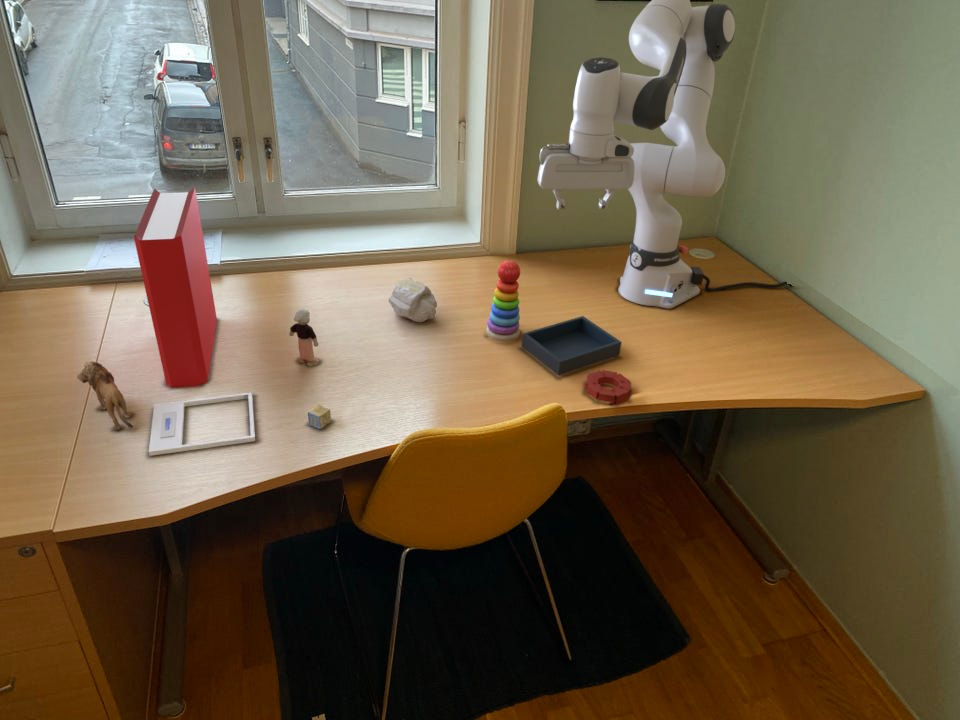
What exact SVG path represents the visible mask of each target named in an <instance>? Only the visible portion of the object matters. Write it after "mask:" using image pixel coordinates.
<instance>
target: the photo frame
mask: <svg viewBox="0 0 960 720" xmlns="http://www.w3.org/2000/svg"><path fill="white" fill-rule="evenodd" d="M247 399H248V412H249V431H250V432H249V433H250V435H244V436H237V437H229V438H222V439H216V440H208V441H201V442H194V443H187V444H183V437H184V420H185V407H190V406H191V407H192V406H199V405H200V406H201V405H206V404H215V403H222V402H231V401H239V400H247ZM253 402H254V401H253V392H252V391H251V392H243V393H236V394H228V395H226V394H225V395H219V396H211V397H203V398H202V397H201V398H194V399H188V400H187V399H186V400H179V401H178V400H177V401H171V402H162V403H154V404H153V411H152V420H151V427H150V428H151V429H150V438H149V445H148V456H149V457H151V456H159V455H166V454H172V453H179V452H187V451H194V450H200V449H208V448H216V447H222V446H223V447H224V446H230V445H237V444H244V443H245V444H246V443H252V442H256V432H255V431H256V430H255V417H254V416H255V415H254V403H253Z"/></svg>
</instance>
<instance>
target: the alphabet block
mask: <svg viewBox="0 0 960 720" xmlns="http://www.w3.org/2000/svg"><path fill="white" fill-rule="evenodd" d="M307 421H308V425H309V426H311V427H314V428H316V429H318V430H321V429H323V428H325V427H326V426H327V425H328V424H330V423H332V414H331V409H330V408H328V407H326V406H323V405H320V404H317V405H316V406H315V407H312V408H311V409H310V410H308V411H307Z"/></svg>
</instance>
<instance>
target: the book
mask: <svg viewBox="0 0 960 720" xmlns="http://www.w3.org/2000/svg"><path fill="white" fill-rule="evenodd" d="M145 207H146V208H145V210H144V211H143V214H142V216H141V219H140V221H139V224H138V226H137V229H136V230H135V233H134V235H133V240H134V244H135V245H134V246H135V249H136V254H137V258H138V262H139V267H140V273H141V277H142V281H143V285H144V290H145V294H146V298H147V303H148V308H149V312H150V317H151V321H152V326H153V331H154V334H155V339H156V344H157V349H158V355H159V357H160V362H161V366H162V367H161V368H162V371H163V376H164V380H165V381H164V382H165V385H166V386H167V387H169V388H171V389H176V388H189V387H201V386H202V385H204V384H206V383H207V382H209V378H210V371H211V370H210V369H211V364H212V358H213V357H212V356H213V351H214V342H215V337H216V336H215V335H216V330H217V329H216V328H217V324H218V318H217V311H216V306H215V299H214V293H213V287H212V280H211V276H210V275H211V274H210V268H209V264H208V258H207V257H208V256H207V251H206V245H205V240H204V233H203V227H202V221H201V215H200V209H199V202H198V196H197V191H196V187H193V188H192V189H191V190H189V191H188V192H187V191H185V192H160V191H159V190H157V189H156V188H153V191H152V193H151V196H150V197H149V200H148V202H147V205H146V206H145Z"/></svg>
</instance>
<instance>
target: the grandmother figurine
mask: <svg viewBox="0 0 960 720" xmlns="http://www.w3.org/2000/svg"><path fill="white" fill-rule="evenodd" d="M310 316H311V314H310V311H309V309H307V308H305V307H304V308H300V309H298V310H296V312H295V314H294V316H293V321H294V322H296V323H294V324H293V325H292V326H290V328H289V335H288V336H290V337H293V336H294V335H295V334H296V335H297V345H298V347H297V348H298V352H299V353H298V354H299V359H298V363H299V364H305V363H306V366H307V367H313V366H316V365H318V364H319V363H320V360H319V359H318V358H317V357H315V354H314V347H318V346H319V342H318V338H317V334H316V332H315V331H314V328H313V327H312V326H311V325H310V324H309V323H310V322H311V321H310V319H311V318H310ZM313 346H314V347H313Z"/></svg>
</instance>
